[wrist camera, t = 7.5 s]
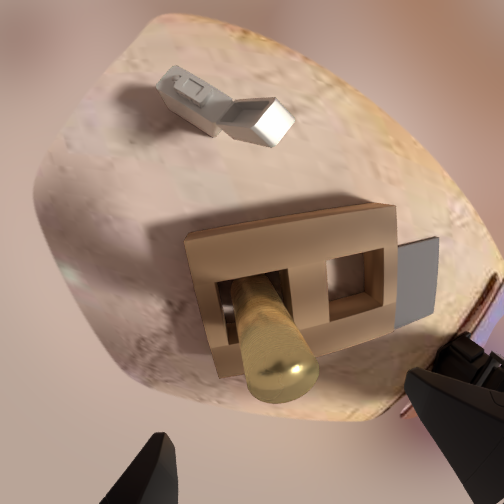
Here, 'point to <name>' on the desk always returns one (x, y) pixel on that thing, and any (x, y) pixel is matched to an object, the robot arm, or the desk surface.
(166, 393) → the desk surface
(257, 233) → the hole block
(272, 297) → the peg
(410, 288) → the mat
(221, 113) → the lighter
